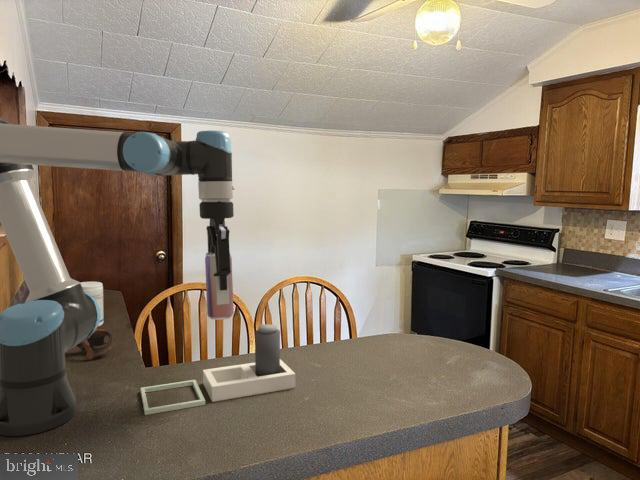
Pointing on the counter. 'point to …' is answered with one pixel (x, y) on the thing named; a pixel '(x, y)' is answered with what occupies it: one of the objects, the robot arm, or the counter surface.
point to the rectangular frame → (172, 406)
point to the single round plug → (267, 350)
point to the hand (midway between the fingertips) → (220, 300)
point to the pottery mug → (97, 344)
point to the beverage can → (212, 308)
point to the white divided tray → (245, 381)
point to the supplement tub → (95, 294)
